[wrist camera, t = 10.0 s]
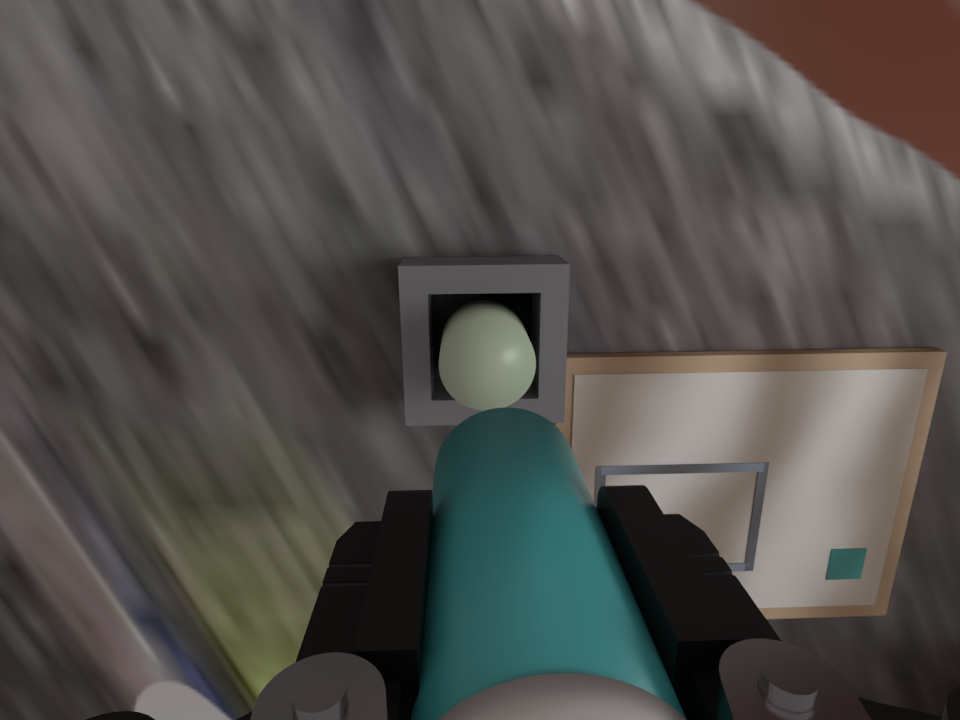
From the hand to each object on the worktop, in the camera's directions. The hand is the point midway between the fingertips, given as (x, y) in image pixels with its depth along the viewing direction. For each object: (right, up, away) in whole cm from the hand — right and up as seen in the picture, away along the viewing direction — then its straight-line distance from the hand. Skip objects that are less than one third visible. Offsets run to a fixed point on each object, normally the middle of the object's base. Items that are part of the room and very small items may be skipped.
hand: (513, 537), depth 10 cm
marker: (0, +1, +4) cm, 4 cm away
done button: (0, +4, +12) cm, 13 cm away
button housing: (0, +4, +14) cm, 14 cm away
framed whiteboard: (+11, -3, +16) cm, 20 cm away
